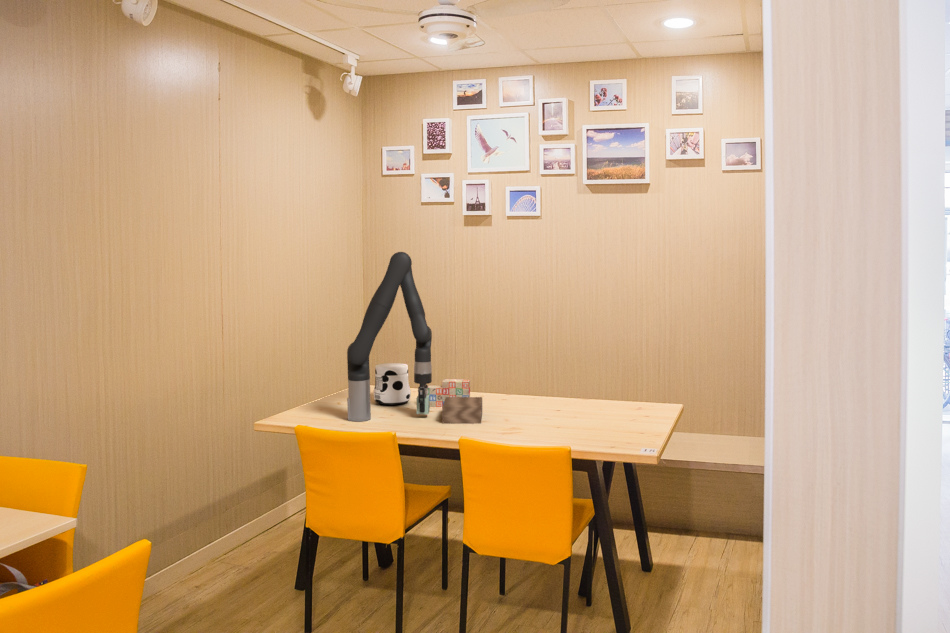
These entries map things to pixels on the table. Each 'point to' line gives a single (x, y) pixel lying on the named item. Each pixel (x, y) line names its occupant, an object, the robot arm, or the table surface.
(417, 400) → the sage block
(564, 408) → the table surface
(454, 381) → the stack of blocks
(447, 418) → the block
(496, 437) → the table surface
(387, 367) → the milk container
